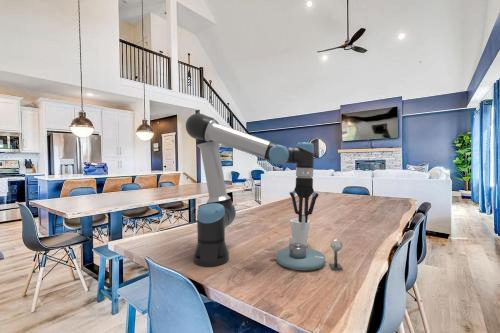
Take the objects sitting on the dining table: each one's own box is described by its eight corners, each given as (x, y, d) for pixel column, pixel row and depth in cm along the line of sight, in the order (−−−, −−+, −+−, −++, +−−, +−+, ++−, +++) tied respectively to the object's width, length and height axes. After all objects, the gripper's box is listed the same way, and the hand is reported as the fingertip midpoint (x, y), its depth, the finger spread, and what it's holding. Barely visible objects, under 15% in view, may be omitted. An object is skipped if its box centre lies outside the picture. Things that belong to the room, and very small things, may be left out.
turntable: (301, 274, 95) (301, 256, 95) (266, 257, 112) (266, 241, 111) (335, 262, 107) (335, 245, 106) (299, 248, 123) (299, 233, 123)
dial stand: (331, 270, 101) (331, 240, 100) (328, 265, 105) (328, 237, 104) (342, 270, 101) (343, 240, 100) (339, 266, 105) (339, 237, 104)
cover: (297, 260, 104) (297, 248, 103) (285, 255, 109) (285, 243, 109) (309, 256, 108) (309, 244, 107) (297, 251, 113) (297, 240, 113)
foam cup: (286, 244, 131) (286, 219, 130) (302, 242, 134) (302, 217, 134) (296, 250, 122) (296, 223, 122) (313, 248, 125) (313, 221, 125)
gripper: (290, 177, 112) (289, 231, 113) (321, 178, 111) (319, 232, 112) (288, 176, 119) (287, 226, 120) (317, 177, 119) (315, 227, 120)
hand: (302, 229), depth 116 cm, fingers closed
